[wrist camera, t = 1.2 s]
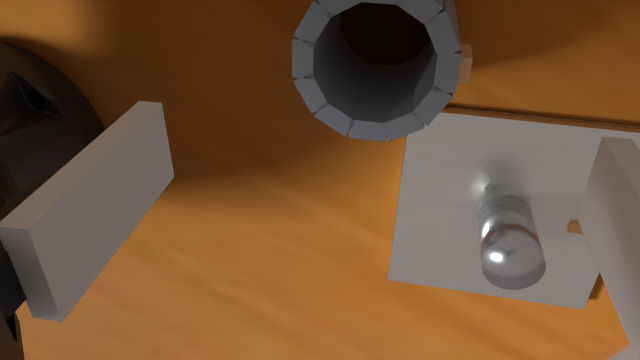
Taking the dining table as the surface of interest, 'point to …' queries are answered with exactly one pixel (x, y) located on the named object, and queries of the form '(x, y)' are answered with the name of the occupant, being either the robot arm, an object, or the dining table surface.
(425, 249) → the square plate
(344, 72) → the sleeve
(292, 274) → the dining table surface
